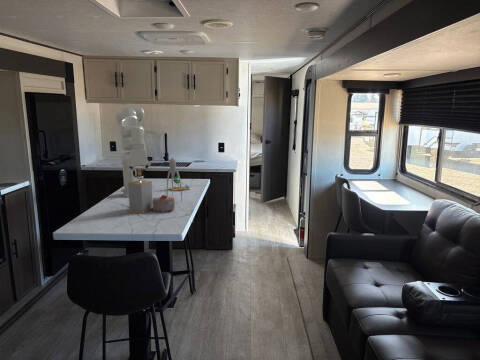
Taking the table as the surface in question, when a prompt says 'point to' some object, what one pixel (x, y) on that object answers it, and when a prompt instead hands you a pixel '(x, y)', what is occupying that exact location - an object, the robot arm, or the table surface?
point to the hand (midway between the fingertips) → (139, 176)
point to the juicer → (172, 168)
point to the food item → (163, 203)
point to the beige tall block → (140, 196)
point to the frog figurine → (176, 180)
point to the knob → (139, 174)
